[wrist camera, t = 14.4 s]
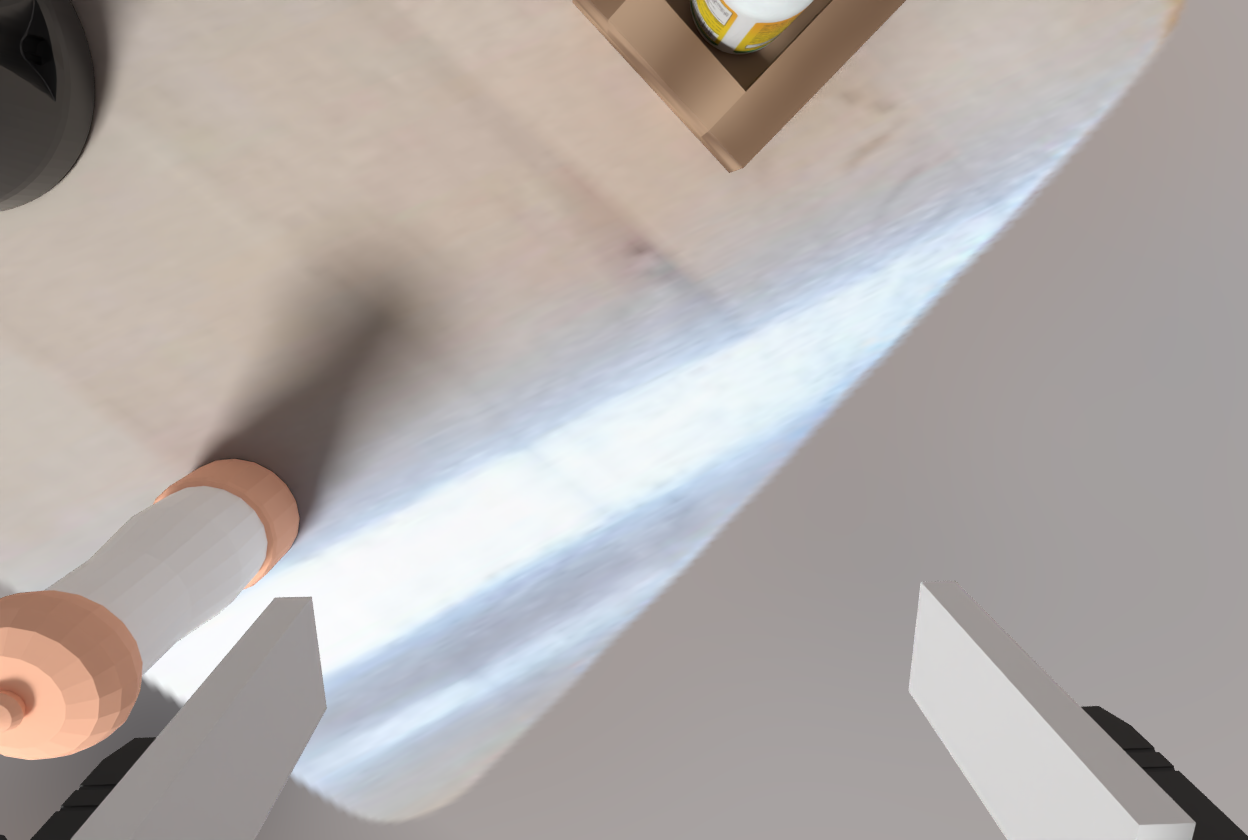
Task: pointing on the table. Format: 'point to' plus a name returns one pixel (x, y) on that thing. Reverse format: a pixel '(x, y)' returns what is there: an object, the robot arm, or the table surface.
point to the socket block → (735, 65)
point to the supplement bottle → (744, 22)
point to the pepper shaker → (134, 605)
